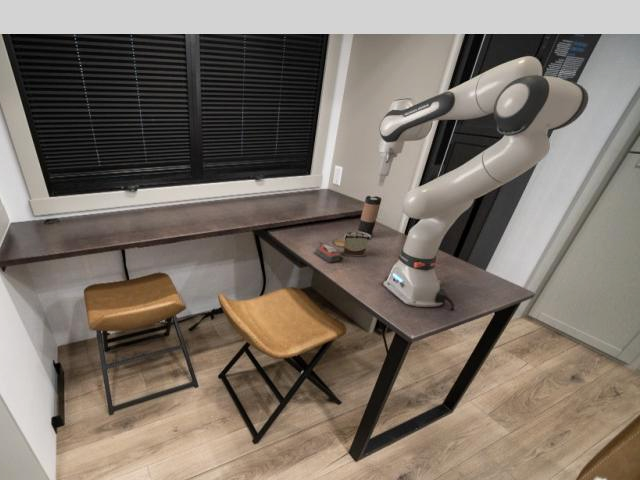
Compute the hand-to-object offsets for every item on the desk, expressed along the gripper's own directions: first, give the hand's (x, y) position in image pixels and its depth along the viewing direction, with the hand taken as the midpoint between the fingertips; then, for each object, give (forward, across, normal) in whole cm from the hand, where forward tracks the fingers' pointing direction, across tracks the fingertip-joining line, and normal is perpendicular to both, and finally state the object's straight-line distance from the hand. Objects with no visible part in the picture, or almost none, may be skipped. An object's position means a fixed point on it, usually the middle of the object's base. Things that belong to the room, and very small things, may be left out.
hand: (381, 183), depth 131 cm
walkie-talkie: (+32, -10, +16) cm, 37 cm away
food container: (+32, -3, +5) cm, 33 cm away
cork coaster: (+32, +7, +10) cm, 34 cm away
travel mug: (+32, +23, +2) cm, 40 cm away
